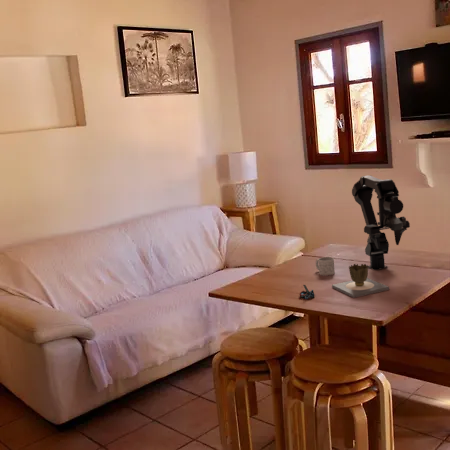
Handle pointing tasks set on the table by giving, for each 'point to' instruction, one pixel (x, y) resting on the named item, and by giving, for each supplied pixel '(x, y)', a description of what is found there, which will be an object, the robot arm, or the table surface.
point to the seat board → (360, 288)
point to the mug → (325, 266)
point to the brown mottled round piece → (359, 274)
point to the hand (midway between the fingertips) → (387, 246)
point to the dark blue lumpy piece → (306, 294)
